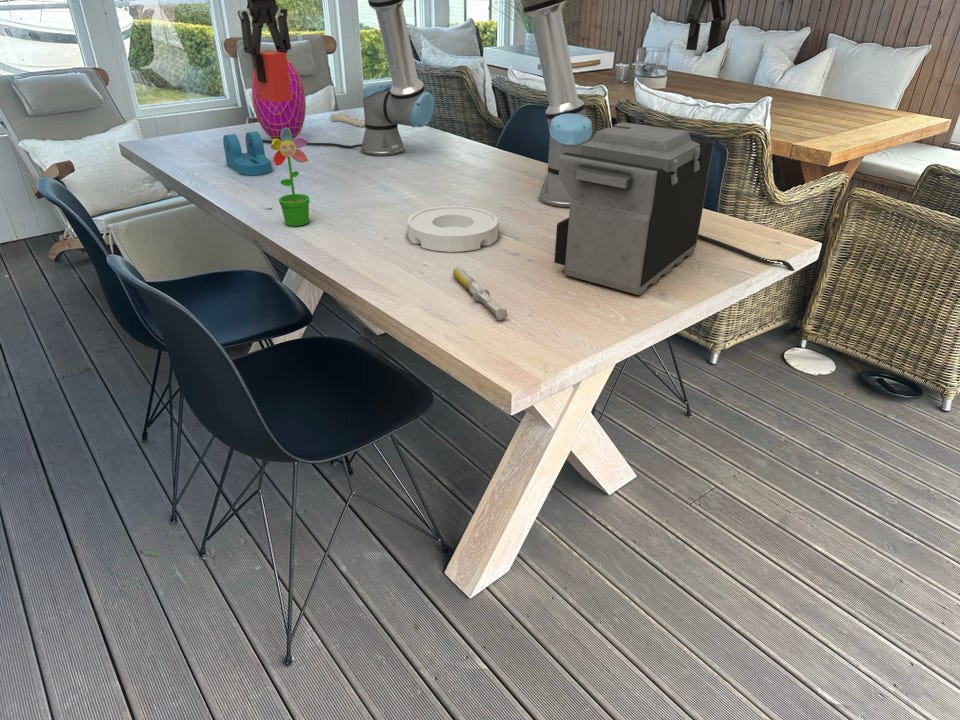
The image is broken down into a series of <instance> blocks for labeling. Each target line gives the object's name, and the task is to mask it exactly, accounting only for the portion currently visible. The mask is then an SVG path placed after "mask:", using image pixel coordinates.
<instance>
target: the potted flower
mask: <svg viewBox="0 0 960 720" xmlns="http://www.w3.org/2000/svg"><path fill="white" fill-rule="evenodd" d="M280 136H281V140H282V141H281V140H279V139H273V138H272V140H271V141H272V143H270V144H271V145H270V148H271V149H272V150H274V151H275V153H274V155H273V163H274V165H275V167H277V166H282V164H283V163H285V161H286V158H287V164H288V165H287V166H288V171H289V178H284V179H282V180H281V181H280V184H281V185H282V186H285V187H291V193H290V194H286V195H282V196H280V197H279V198H278V202H279V205H280V207H281V210H282V215H283V219H284V223H285V225H287V226H290V227H291V226H292V227H301V226H304V225H306V224H309V222H310V206H309V205H310V196H309V195H307V194H303V193H296V192H295V191H296V190H295V184H294V178H296V177H297V176H299V174H300V173H299V171H297V170H295V171H293V168H292V162H291V161H292V160H291V159H293V160H294V161H296V162H297V163H307V162H309V158H308V156H307V155H306V153H305V152H303V150H301V148H303V147H305V146H307V145H306V144H307V143H310V140H308V139H307V138H306V137H303V136H299V135H298V136H296V137H295V138H293V139H292V134H291V131H290V130H289V129H288V128H284V129H283V130H282V131H281V134H280Z"/></svg>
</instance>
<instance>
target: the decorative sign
mask: <svg viewBox="0 0 960 720" xmlns="http://www.w3.org/2000/svg"><path fill="white" fill-rule="evenodd" d="M330 121H332V122H338V121H339V122H344V123H348V124H350V125H353V126H356V127H360V128H361V127H363V128H364V127H365V119H359V118H357V117H351V116H350V114H346V113H344V112H338V113H336V114H331V115H330Z"/></svg>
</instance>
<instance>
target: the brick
mask: <svg viewBox="0 0 960 720" xmlns="http://www.w3.org/2000/svg"><path fill="white" fill-rule="evenodd" d="M260 55H261V56H263V61H264V68H265V75H266V82H265V83H263V82H258V77H257V70H256V69H255V68H254V66H253V65H252V68H253V72H254V76H255V83H256V90H257V97H258V99H262V100H267V101H271V102H280V101H286V100H292V98H291V90H290V81H289V73H288V65H287V59H288V58H287V53H284V52H277V50H276V51H275V50H270V49H269V50H267V49H266V50H260ZM251 61H252V63H253V59H252V58H251Z"/></svg>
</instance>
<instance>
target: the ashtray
mask: <svg viewBox="0 0 960 720" xmlns="http://www.w3.org/2000/svg"><path fill="white" fill-rule="evenodd" d="M407 238H408V240H409V241H410V242H411V243H412V244H414V245H420V247H421V249H422V248H423V249H425V250H430V251H436V252H444V253H445V252H447V253H456V252H457V253H458V252H460V253H461V252H470V251H477V250H479V249H481V246H486V247H487V246H490V245H492V244H494V243H495V242H496V241H497V240H498V238H499V218H498V216H497V215H495V214H494V213H492V212H491V211H488V210H487V209H482V208H478V207H472V206H465V205H441V206H433V207H428V208H424V209H421V210H418V211H415V212H413V213H412V214H411V215H409V217H408V218H407Z"/></svg>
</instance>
